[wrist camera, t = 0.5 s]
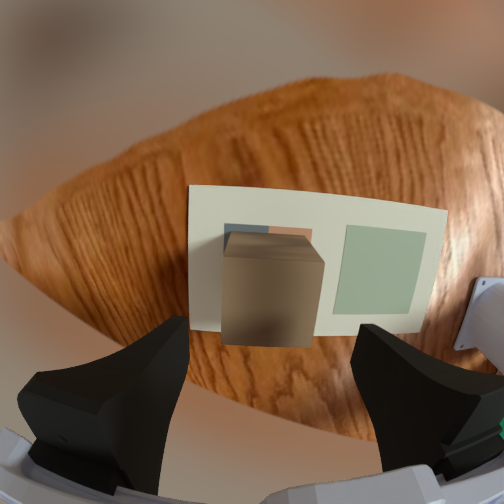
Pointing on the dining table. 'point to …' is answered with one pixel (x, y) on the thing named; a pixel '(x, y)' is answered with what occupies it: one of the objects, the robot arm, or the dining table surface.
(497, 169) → the dining table surface
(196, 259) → the placemat
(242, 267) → the walnut block
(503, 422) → the candle
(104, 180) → the dining table surface
